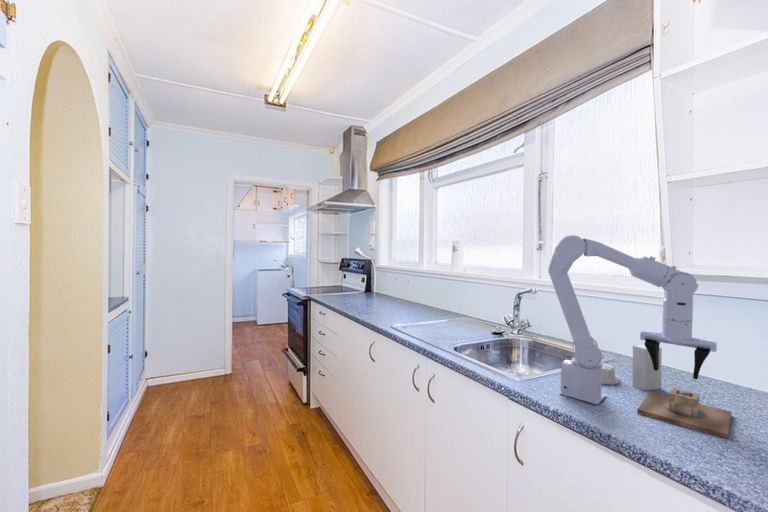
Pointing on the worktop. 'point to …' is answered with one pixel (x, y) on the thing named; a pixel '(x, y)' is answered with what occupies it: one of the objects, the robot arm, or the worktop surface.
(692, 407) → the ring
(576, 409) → the worktop surface
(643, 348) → the skincare box
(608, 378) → the mechanical component
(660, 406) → the post board
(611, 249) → the robot arm
